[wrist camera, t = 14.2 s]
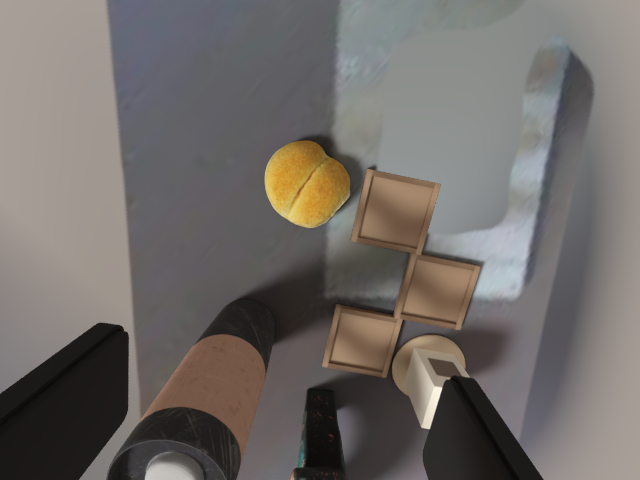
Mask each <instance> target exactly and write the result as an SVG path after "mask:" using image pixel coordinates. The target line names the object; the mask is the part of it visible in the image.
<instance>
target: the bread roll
mask: <svg viewBox="0 0 640 480" xmlns="http://www.w3.org/2000/svg"><path fill="white" fill-rule="evenodd" d="M265 188H266V193H267V196H268V198H269V200H270V202H271V204H272V206H273V207H274V209H275V210H276V211H277V212H278V213H279V214H280V215H282V216H283V217H285V218H286V219H288V220H289V221H291V222H293V223H294V224H297V225H300V226H303V227H307V228H314V227H317V226H320V225H321V224H324V223H327V221H328V220H329V219H330V218H331V217H332V216H333V215H334V214H335V213H336V211H337V210H338V209H339V208H340V207H341V206H342V205H343V204H344V202H345V201H346V200H347V199H348V198H349V197H350V178H349V175H348V173H347V171H346V170H345V168H344V167H343V165H342V164H341V163H339V162H338V161H337V160H335V159H333V158H330V157H329V156H327V155H326V154H325V152H324V150H323V149H322V148H321V146H320V145H318V144H317V143H315V142H312V141H307V140H306V141H296V142H292V143H289V144H287V145H286V146H284V147H282V148H281V149H279V150H278V151H276V153H275V154H274V155H273V156H272V158H271V159H270V161H269V162H268V164H267V168H266V172H265Z"/></svg>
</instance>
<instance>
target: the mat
mask: <svg viewBox="0 0 640 480" xmlns="http://www.w3.org/2000/svg"><path fill="white" fill-rule="evenodd" d="M414 347H415V348H421V349H426V350H432V351H437V352H443V353H449V354H454V355H455V357H456V358H457V359H458V361H459V362H460V364H461V365H462V366H463V368H464V369H465V359H464V356H463V354H462V352H461V350H460V349H459V347H458V346H457V345H456V344H455V343H454V342H452V341H451V340H450V339H448V338H446V337H443V336H440V335H433V334H428V335H421V336H417V337H415V338H412V339H410V340H409V341H407V342H406V343H405V344H403V345H402V346H401V347H400V348H399V350H398V351H397V352H396V354H395V356H394V359H393V362H392V375H393V379H394V381H395V384H396V385H397V387H398V388H399V389H400V390H401V391H402V392H403V393H404V394H406V395H407V396H409V394H408V392H407V389H406V387H405V384H404V381H405V377H406V374H407V370H408V367H409V363H410V360H411V357H412V353H413V350H414Z"/></svg>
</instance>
